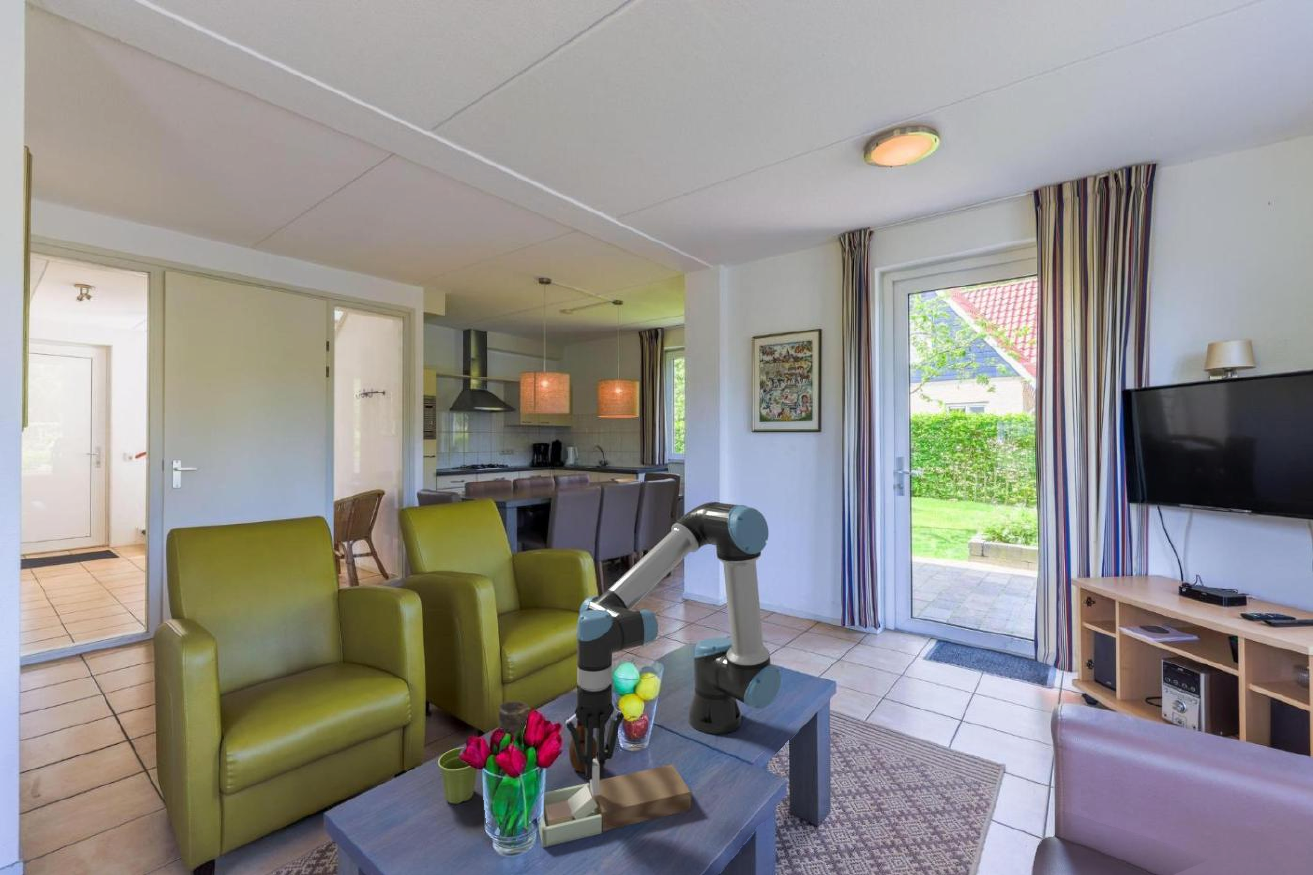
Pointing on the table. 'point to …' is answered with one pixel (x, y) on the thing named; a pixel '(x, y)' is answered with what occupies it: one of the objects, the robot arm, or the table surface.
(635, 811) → the brown box sleeve
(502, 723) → the candle
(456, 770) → the plant pot
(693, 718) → the robot arm
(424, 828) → the table surface
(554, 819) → the tile
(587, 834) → the tray
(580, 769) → the wooden figurine
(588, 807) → the tile
